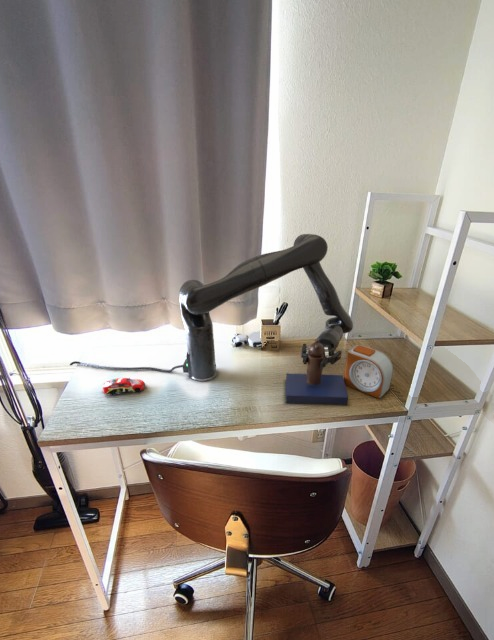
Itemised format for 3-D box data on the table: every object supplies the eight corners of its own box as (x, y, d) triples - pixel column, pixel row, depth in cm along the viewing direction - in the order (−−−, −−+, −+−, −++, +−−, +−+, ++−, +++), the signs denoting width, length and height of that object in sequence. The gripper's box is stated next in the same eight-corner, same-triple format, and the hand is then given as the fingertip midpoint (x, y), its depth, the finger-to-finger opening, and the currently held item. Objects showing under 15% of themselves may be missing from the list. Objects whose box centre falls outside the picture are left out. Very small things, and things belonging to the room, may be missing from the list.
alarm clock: (340, 383, 132) (345, 349, 124) (352, 374, 138) (357, 341, 130) (378, 399, 125) (386, 364, 117) (389, 388, 131) (397, 354, 123)
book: (286, 403, 121) (286, 395, 120) (286, 380, 133) (286, 373, 131) (347, 405, 121) (348, 397, 120) (341, 382, 133) (342, 375, 131)
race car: (146, 384, 128) (144, 374, 126) (145, 392, 123) (143, 382, 121) (105, 387, 125) (102, 377, 123) (103, 396, 121) (100, 386, 118)
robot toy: (231, 353, 150) (268, 352, 150) (229, 343, 148) (267, 341, 147) (234, 340, 160) (268, 338, 160) (233, 330, 158) (268, 329, 157)
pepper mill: (305, 384, 123) (308, 345, 114) (304, 376, 127) (307, 338, 118) (321, 385, 123) (325, 345, 114) (320, 377, 127) (324, 338, 118)
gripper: (309, 328, 131) (292, 348, 118) (348, 336, 127) (336, 358, 114) (307, 347, 135) (291, 369, 122) (345, 355, 131) (333, 378, 118)
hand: (313, 363), depth 118 cm, fingers closed on pepper mill, 5 cm apart
